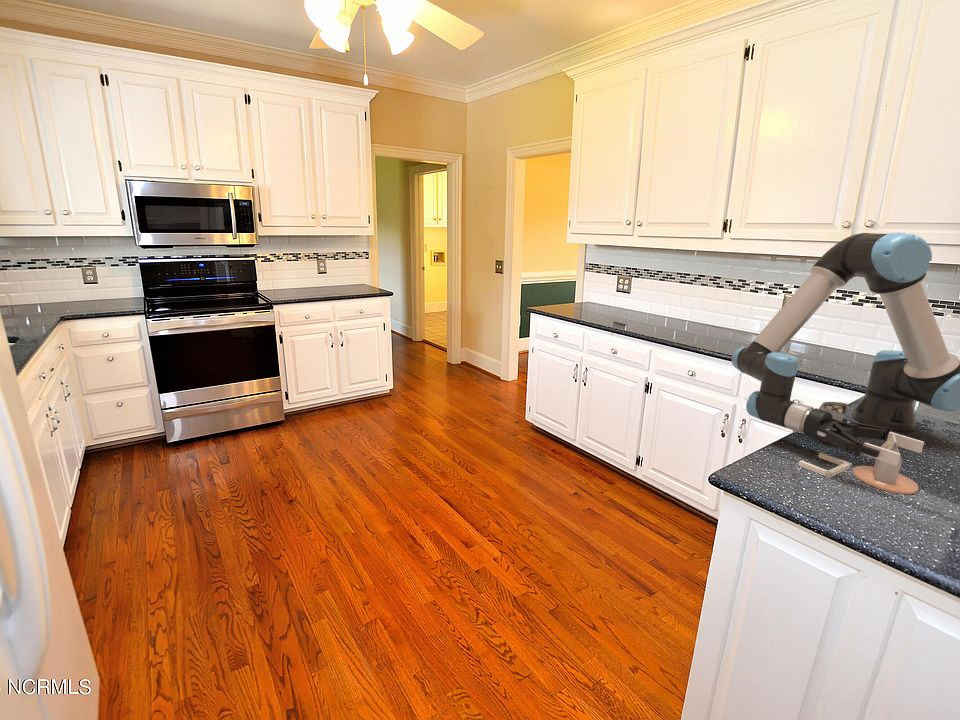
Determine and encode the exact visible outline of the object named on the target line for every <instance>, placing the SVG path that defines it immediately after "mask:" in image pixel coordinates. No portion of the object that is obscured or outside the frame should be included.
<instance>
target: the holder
mask: <svg viewBox="0 0 960 720" xmlns="http://www.w3.org/2000/svg"><path fill="white" fill-rule="evenodd" d="M817 457H818V458H819V459H822V460H824V461H827V462H829V463H833V464H836V465H837V466H836V467H833V468H830V469H829V470H827V469H825V468H822V467H821V466H817V465H816V464H815V465H814V464H811V463H809V462H807V461H804V460H799V461H798V464H797V465H798V466H799V467H801V468H802V469H803V468H804V469H806V470H809V471H811V472H814V473H816V474H818V475H822V476H824V477H825V478H826V477H827V478H828V479H830V478H832V477H834V476H836V475H839V474H840V473H843V472H845V471H847V470H849V469H851V468H852V466H853V463H852V462H849V461H848V460H843V459H841V458H838V457H835V456H832V455H830V454H827V453H825V452H822V451H821V452H819V453H818V456H817Z"/></svg>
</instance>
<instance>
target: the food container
mask: <svg viewBox="0 0 960 720" xmlns="http://www.w3.org/2000/svg"><path fill="white" fill-rule="evenodd" d="M847 408H848V403H845V402H840V401H839V402H838V401H825V402H822V404H820V405H819V408H818V409H821V410H824V411H827V412H830V413H831V414H832V418H833V420H834V421H837V422H838V421H842V419H845V417H846V411H847ZM820 440H821V441H822V442H821V441H820ZM818 441H820V442H821V443H823V442H825V443H826V444H825V443H824V444H825V445H828V444H829V445H828V446H831V445H832V444H831V443H829V442H827V441H825V440H823V439H819V440H818ZM832 447H834V445H832Z"/></svg>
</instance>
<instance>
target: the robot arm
mask: <svg viewBox="0 0 960 720" xmlns="http://www.w3.org/2000/svg"><path fill="white" fill-rule="evenodd" d="M932 259H933V252H932V249H931V247H930V245H929V244H928V242H927V241H926V240H925V239H923V237H921V236H918V235H916V234H911V233H905V232H892V233H891V232H890V233H874V232H872V233H871V232H860V233H855V234H853V235H852V234H851V235H850V236H847V237H845V238H844V239H842V240H840V241H838V242H837V243H836V244H834V245H833V246H831V248H830V249H828V250H827V251H826V252H825V253H824V254H822V256H820V258H819V259H818V260H817V261H816V262H815V263H814V265H812V267H811V268H810V272H811V274H810V275H809V276H808V277H807V278H806V279H805V280H804V281H803V283H802V284H801V285H800V286H799V287H798V289H797V290H796V291H795V292H794V293H793V294H792V295H791V296H790V298H789V299H788V300H787V301H786V302H785V304H783V306H782V307H781V308H780V309H779V310H778V311H777V313H776V314H775V315H774V316H773V317H772V319H771V320H770V321H769V322H768V323H767V325H766V326H765V327H764V328H763V329H762V330H761V331H760V332H759V334H757V336H756V337H755V338H754V340H753V341H752V342H750V344H749V345H748V346H742V347H739V348H737V349H735V351H734V352H733V354H732V355H731V363H732V366H733V367H734V368H735V369H736V370H738V371H739V372H740V373H743V374H745V375H747V376H749V377H752V378H754V379H756V380H757V381H759V382H760V388H759V390H756V391H753V392H752V393H750V395H749V396H748V400H747V401H746V406H745V407H746V411H747V413H748V415H750V416H751V417H753V418H756V419H759V420H761V421H763V422H766V423H769V424H774V425H776V426H779V427H782V428H784V429H788V430H790V431H792V433H795V434H796V433H799V434H804V435H805V436H808V437H810V438H813V439H817V440H818V439H823V440H825V441H827V442H829V443H831V444H832V445H834V446H836V447H835V448H838V449H839V450H842V451H843V452H845V453H847V454H849V455H853V456H854V457H858V458H859V457H860V455H863V456H866V457H870V458H872V459H875V460H876V459H878V460H881V461H884V462H887V463H890V464H892V465H895V466H896V465H897V464H898V461H899V458H900V457H901V453H900V452H899V453H897V452H894V451H890V450H887V449H884V448H881V447H880V446H878V445H876V444H875V445H874V444H872V443H868V442H864V443H863V442H861V441H860V440H858V439H857V438H863V439H870V440H877V441H884V442H886V441H887V440H888V439H889V438H890V437H891V435H892V434H893V435H895V438H896V442H897V447H899V448H903V449H906V450H908V451H912V452H915V453H918V454H921V453H922V451H923V447H924V444H925V441H923V440H919V439H915V438H912V437H909V436H906V435H902V434H899V433H896V432H911V431H914V430H915V428H916V424H917V423H916V420H917V419H916V414H915V413H916V412H915V407H914V403H915V401H916V402H918V403H921V404H923V405H926V406H928V407H931V408H933V409H935V410H941V411H944V412H950V413H951V412H953V413H954V412H958V411H960V358H959V357H958V356H957V355H956V354H953V353H952V352H951V353H950V352H949V350H948V347H947V346H946V343H945V340H944V338H943V336H942V333H941V330H940V327H939V325H938V322H937V320H936V316H935V315H934V312H933V310H932V307H931V304H930V302H929V299H928V296H927V294H926V292H925V289H924V286H923V284H922V282H923V281H924V280H925V278H926V277H927V272H928V270H929V268H930V267H931V264H930V262H931V261H932ZM856 277H858V278H864V280H865V282H866V284H867V286H868V289H869V291H870V292H871V293H872V294H875V295H879V296H880V299H881V302H882V303H883V306H884V309H885V310H886V313H887V316H888V318H889V320H890V323H891V325H892V328H893V330H894V333H895V335H896V338H897V340H898V342H899V345H900V346H901V350H888V349H887V350H880V351H878V352H877V353H876V354H875V357H874V360H873V361H872V366H871V370H870V375H869V378H868V382H867V387H866V391H865V394H864V395H863V397H862V398H861V400H860V401H859V402H858V403H857V405H856V406H855V408H854V409H853V413H852V417H853V419H855V420H857V421H858V422H857V421H854V420H853V421H851V420H849V419H846V418H844V419H842V421H838V422H837V421H834V420H833V418H832V414H831V413H830V412H827V411H824V410H821V409H819V408H814V407H813V406H811V405H807V404H804V403H801V402H797V401H793V400H791V397H792V392H793V388H794V384H795V383H794V382H795V379H796V375H797V374H798V370H797V369H798V364H799V363H798V362H799V359H798V358H797V356H795V355H792V354H788V353H786V352H781V351H782V350H783V349H784V348H785V347H786V346H787V344H788V343H789V342H790V341H791V340H792V339H793V338H794V336H796V334H797V333H798V332H799V331H801V328H803V326H804V325H805V324H806V323H807V322H808V321H809V320H810V319H811V318H812V317H813V315H814V314H815V313H816V312H817V310H819V308H820V307H821V306H822V305H824V303H825V302H826V301H827V300H828V299H829V298H830V296H831V295H833V293H834V292H835V291H836V290H837V289H838V288H843V287H844V286H845V285H847V283H848V282H849V281H850V280H852V279H853V278H856ZM892 431H893V432H892ZM894 431H896V432H894ZM834 446H833V447H834Z"/></svg>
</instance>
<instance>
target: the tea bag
mask: <svg viewBox="0 0 960 720" xmlns="http://www.w3.org/2000/svg"><path fill="white" fill-rule="evenodd" d="M879 447H881V448H884V449H887V450H890V451H894V452H897V453H900V450H899V448H898V447H899V446H897V442H896V438H895V435H893V434H892V435H891V437H890V438H889V439H888V440H887V441H884V443H883V444H881V446H879ZM902 463H903V459H902V457H901V456H900V458H899V461H898V464H897V465H896V466H895V465H892V464H890V463H887V462H884V461H881V460H878V459H875V462H874V466H873V467H874V469H873V472H874V479H875V480H876V481H880V482H884V483H887V484H891V485H895V484H896V481H897V477H898V474H900V469H901V466H902Z"/></svg>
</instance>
